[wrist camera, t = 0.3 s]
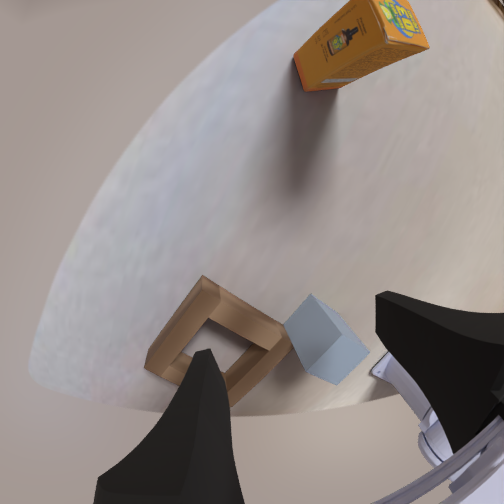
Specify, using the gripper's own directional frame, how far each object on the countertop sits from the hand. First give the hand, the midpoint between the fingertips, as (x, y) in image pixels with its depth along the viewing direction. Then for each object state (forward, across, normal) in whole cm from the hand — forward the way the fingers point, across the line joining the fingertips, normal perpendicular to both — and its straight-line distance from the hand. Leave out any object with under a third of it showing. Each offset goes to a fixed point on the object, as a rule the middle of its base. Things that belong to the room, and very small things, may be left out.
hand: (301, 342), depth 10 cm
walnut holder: (+10, +5, +6) cm, 13 cm away
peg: (+10, -3, +6) cm, 12 cm away
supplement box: (+10, -8, -13) cm, 18 cm away
